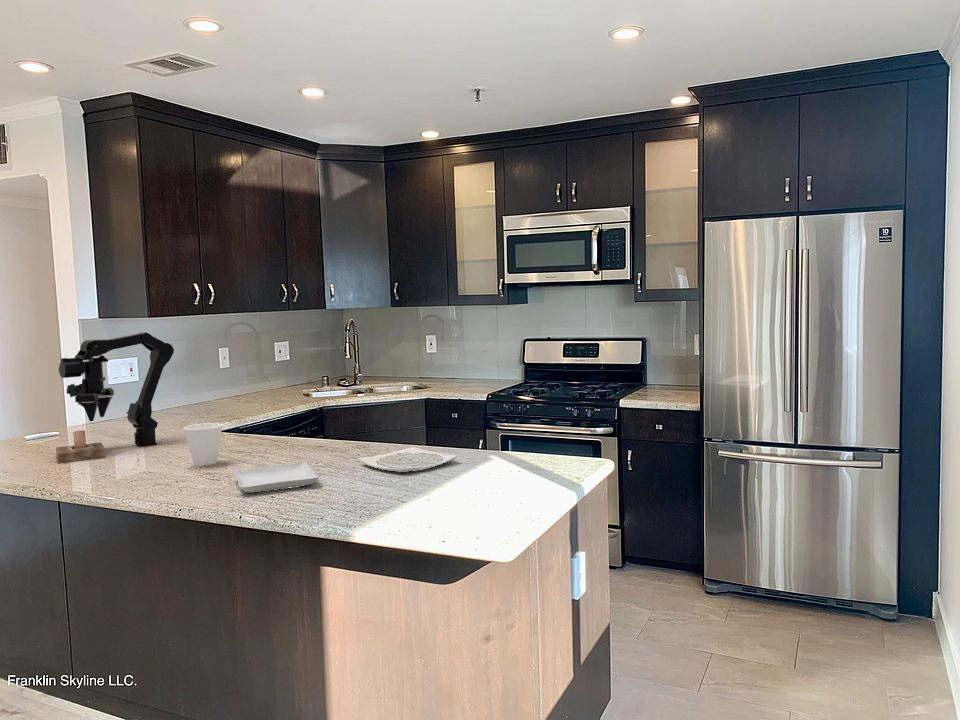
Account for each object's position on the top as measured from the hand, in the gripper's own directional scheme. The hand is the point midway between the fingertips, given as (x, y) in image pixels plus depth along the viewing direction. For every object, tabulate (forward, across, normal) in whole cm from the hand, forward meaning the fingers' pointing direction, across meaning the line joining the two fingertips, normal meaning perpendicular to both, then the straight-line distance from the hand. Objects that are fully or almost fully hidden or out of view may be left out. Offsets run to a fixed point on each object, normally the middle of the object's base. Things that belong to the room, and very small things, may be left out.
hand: (96, 419), depth 252 cm
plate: (+13, +45, +108) cm, 118 cm away
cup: (+12, +29, +44) cm, 54 cm away
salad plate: (+13, +61, +70) cm, 94 cm away
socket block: (+12, +7, -3) cm, 14 cm away
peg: (+12, +7, -3) cm, 14 cm away
